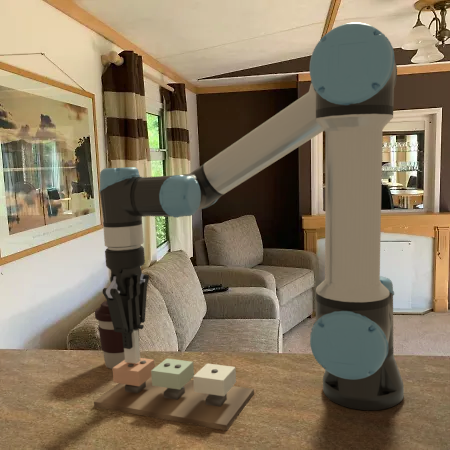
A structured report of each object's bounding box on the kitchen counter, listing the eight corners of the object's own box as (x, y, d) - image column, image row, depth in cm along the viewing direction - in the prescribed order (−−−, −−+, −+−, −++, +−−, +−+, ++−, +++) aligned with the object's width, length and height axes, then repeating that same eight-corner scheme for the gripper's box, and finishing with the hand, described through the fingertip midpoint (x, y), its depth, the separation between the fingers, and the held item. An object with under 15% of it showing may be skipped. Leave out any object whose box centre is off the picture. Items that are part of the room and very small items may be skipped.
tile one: (236, 381, 92) (235, 366, 92) (224, 396, 87) (223, 379, 86) (207, 378, 95) (206, 362, 94) (194, 391, 89) (193, 375, 89)
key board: (253, 393, 96) (253, 383, 95) (226, 430, 83) (226, 418, 83) (134, 376, 107) (133, 366, 106) (94, 406, 94) (93, 395, 94)
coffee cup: (132, 373, 108) (127, 308, 106) (92, 372, 110) (86, 308, 108) (148, 356, 118) (143, 296, 116) (110, 354, 120) (105, 296, 118)
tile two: (194, 376, 96) (193, 360, 95) (179, 389, 90) (178, 373, 90) (167, 372, 98) (166, 357, 98) (152, 385, 93) (151, 369, 92)
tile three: (155, 373, 99) (154, 358, 99) (139, 386, 94) (138, 370, 94) (130, 370, 102) (129, 355, 101) (113, 382, 96) (112, 367, 96)
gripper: (127, 240, 102) (135, 347, 105) (87, 252, 90) (97, 372, 93) (158, 241, 99) (165, 351, 102) (120, 253, 87) (130, 377, 90)
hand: (132, 361), depth 98 cm, fingers closed
